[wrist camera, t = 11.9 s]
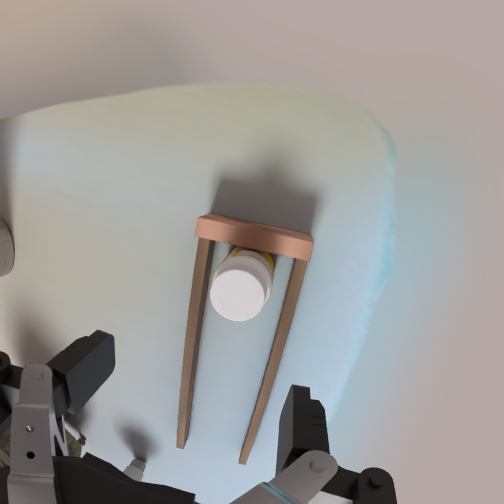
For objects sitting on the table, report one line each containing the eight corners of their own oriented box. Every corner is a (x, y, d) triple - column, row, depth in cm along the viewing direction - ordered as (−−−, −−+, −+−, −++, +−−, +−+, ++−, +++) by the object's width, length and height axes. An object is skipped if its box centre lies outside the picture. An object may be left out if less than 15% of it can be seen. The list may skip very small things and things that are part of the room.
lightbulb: (148, 452, 38) (124, 499, 27) (161, 472, 39) (141, 517, 29) (119, 447, 39) (93, 489, 28) (133, 467, 40) (111, 508, 30)
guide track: (181, 435, 36) (173, 454, 32) (209, 213, 28) (197, 217, 25) (247, 452, 35) (244, 472, 31) (310, 234, 28) (314, 242, 24)
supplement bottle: (239, 295, 30) (222, 334, 22) (218, 254, 29) (191, 280, 21) (283, 277, 29) (281, 312, 21) (262, 233, 28) (251, 252, 20)
